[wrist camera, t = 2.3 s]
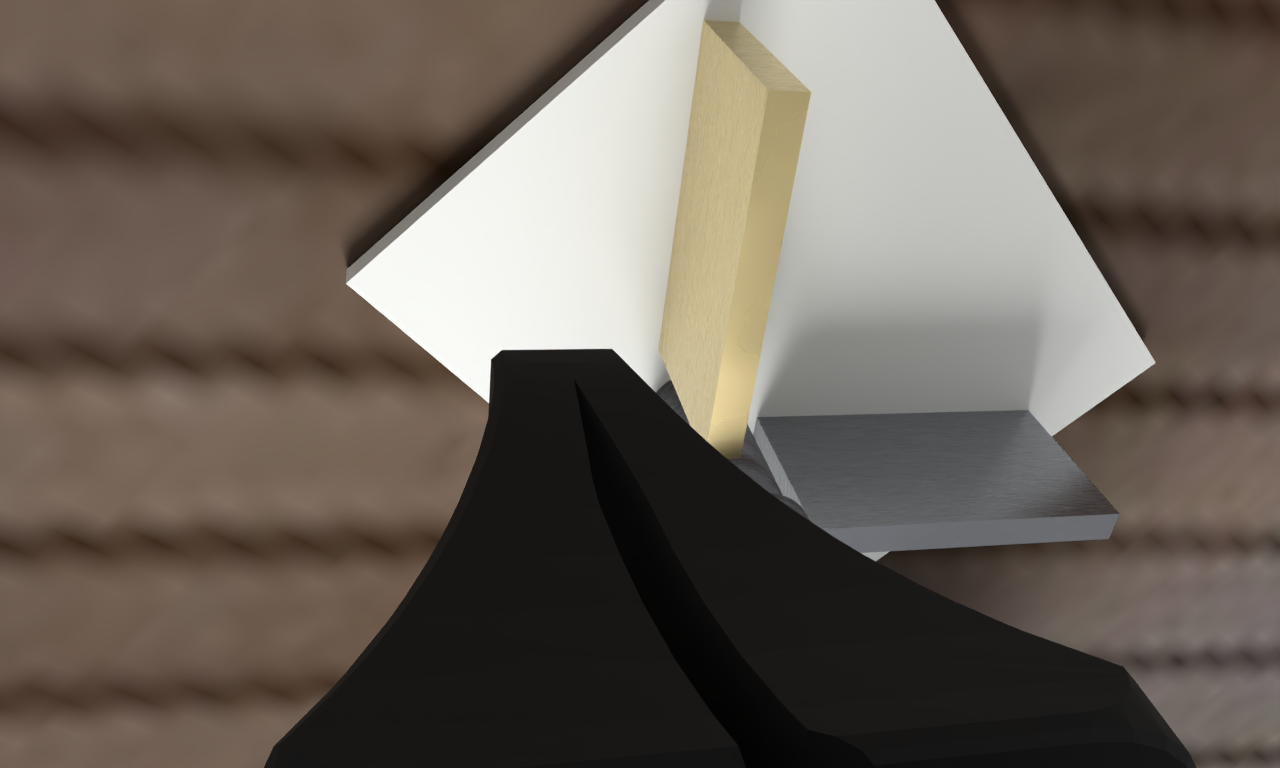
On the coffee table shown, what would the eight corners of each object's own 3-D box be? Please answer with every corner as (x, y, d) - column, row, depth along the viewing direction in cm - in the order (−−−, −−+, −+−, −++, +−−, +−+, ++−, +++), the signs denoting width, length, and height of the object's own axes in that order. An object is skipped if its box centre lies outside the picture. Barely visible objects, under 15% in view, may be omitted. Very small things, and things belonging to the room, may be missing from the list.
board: (1141, 350, 27) (1155, 362, 27) (761, 621, 30) (768, 637, 29) (828, -159, 19) (840, -155, 19) (346, 269, 22) (345, 283, 21)
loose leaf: (689, 349, 24) (740, 458, 21) (658, 349, 24) (704, 459, 20) (740, 22, 20) (811, 92, 17) (703, 19, 20) (768, 90, 17)
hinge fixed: (1020, 433, 27) (1138, 573, 23) (632, 457, 25) (685, 616, 21) (1048, 346, 26) (1178, 478, 22) (640, 365, 24) (698, 514, 20)
